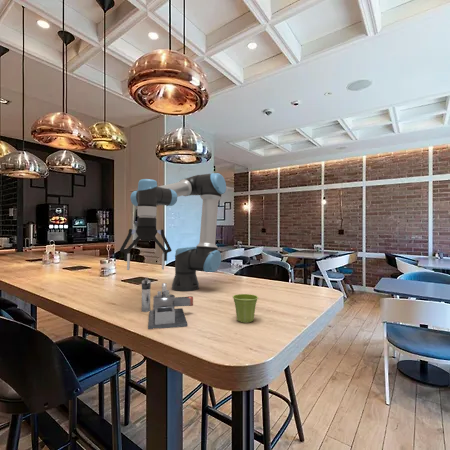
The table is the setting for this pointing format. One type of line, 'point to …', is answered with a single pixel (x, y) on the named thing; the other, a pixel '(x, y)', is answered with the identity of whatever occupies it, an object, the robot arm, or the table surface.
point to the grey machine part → (170, 299)
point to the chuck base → (166, 318)
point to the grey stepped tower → (146, 295)
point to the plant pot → (245, 307)
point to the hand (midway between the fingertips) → (145, 269)
